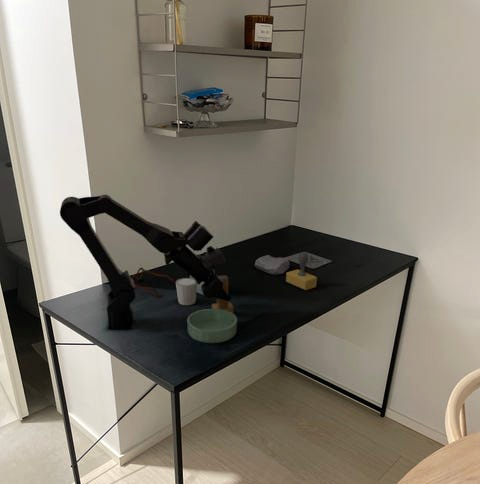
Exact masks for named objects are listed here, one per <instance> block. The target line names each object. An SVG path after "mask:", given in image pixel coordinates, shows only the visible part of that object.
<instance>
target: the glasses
mask: <svg viewBox="0 0 480 484" xmlns="http://www.w3.org/2000/svg"><path fill="white" fill-rule="evenodd" d="M140 272H141V274H140ZM144 273H147V274H150V275H152V276H156V277H163V278H167V279H168V280H169V281H171V282H172V283H173V284H174V283H176V280H174V279H173V278H172V277H171V276H169V275H167V274H160V273H156V272H152V271H151V270H150V271H149V270H146V269H144V268H143V267H139V269H138V270H137V272H136V273H134V275H129V276H130V277H131V278H132V279H133V280H134V278H136V281H138V282H139V281H141V279H142V277H143V276H144ZM139 274H140V277H139ZM135 288H137V289H141V290H149V291H153V292H154V293H155V294H156V295H157V296H158V297H161V294H160V293H159V292H158V291H157V290H156V289H155V288H153V287H144V286H141V285H138V284H135Z"/></svg>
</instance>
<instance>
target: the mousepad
mask: <svg viewBox="0 0 480 484" xmlns="http://www.w3.org/2000/svg"><path fill="white" fill-rule="evenodd" d="M302 252H303V251H302ZM302 252H298V253H294V254H292V255H289V256H286V257H284V258H286V259H287V260H288V261H289V262H290V261H291V262H293V263H296V264H298V265H300V264H299V261H298V257H299V254H300V253H302ZM304 252H305V253H307V255H308V261H307V264H306V266H305V267H307V268H309V269H312V270H313V269H317V268H319V267H322V266H324V265H326V264H329V263H332V262H333V260H331V259H327V258H325V257H321V256H319V255H316V254H312V253H310V252H307V251H304Z"/></svg>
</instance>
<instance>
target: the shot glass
mask: <svg viewBox="0 0 480 484" xmlns="http://www.w3.org/2000/svg"><path fill="white" fill-rule="evenodd" d="M175 287H176V294H177V295H176V296H177V301H178V304H180V305H181V306H192V305H194V304H196V301H197V292H196V291H197V282H196V280H195V279H191V278H190V277H183V278H178V279H176V280H175Z"/></svg>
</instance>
